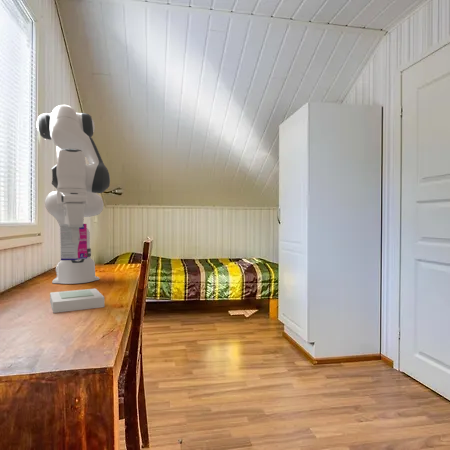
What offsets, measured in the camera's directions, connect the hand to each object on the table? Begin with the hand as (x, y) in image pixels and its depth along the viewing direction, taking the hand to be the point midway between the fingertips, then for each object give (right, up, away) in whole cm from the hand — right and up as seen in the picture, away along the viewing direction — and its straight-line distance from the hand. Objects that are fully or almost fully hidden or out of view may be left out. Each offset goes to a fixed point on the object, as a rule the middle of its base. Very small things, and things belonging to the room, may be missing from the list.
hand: (73, 242), depth 112 cm
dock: (+2, -19, -2) cm, 19 cm away
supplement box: (0, -6, 0) cm, 6 cm away
